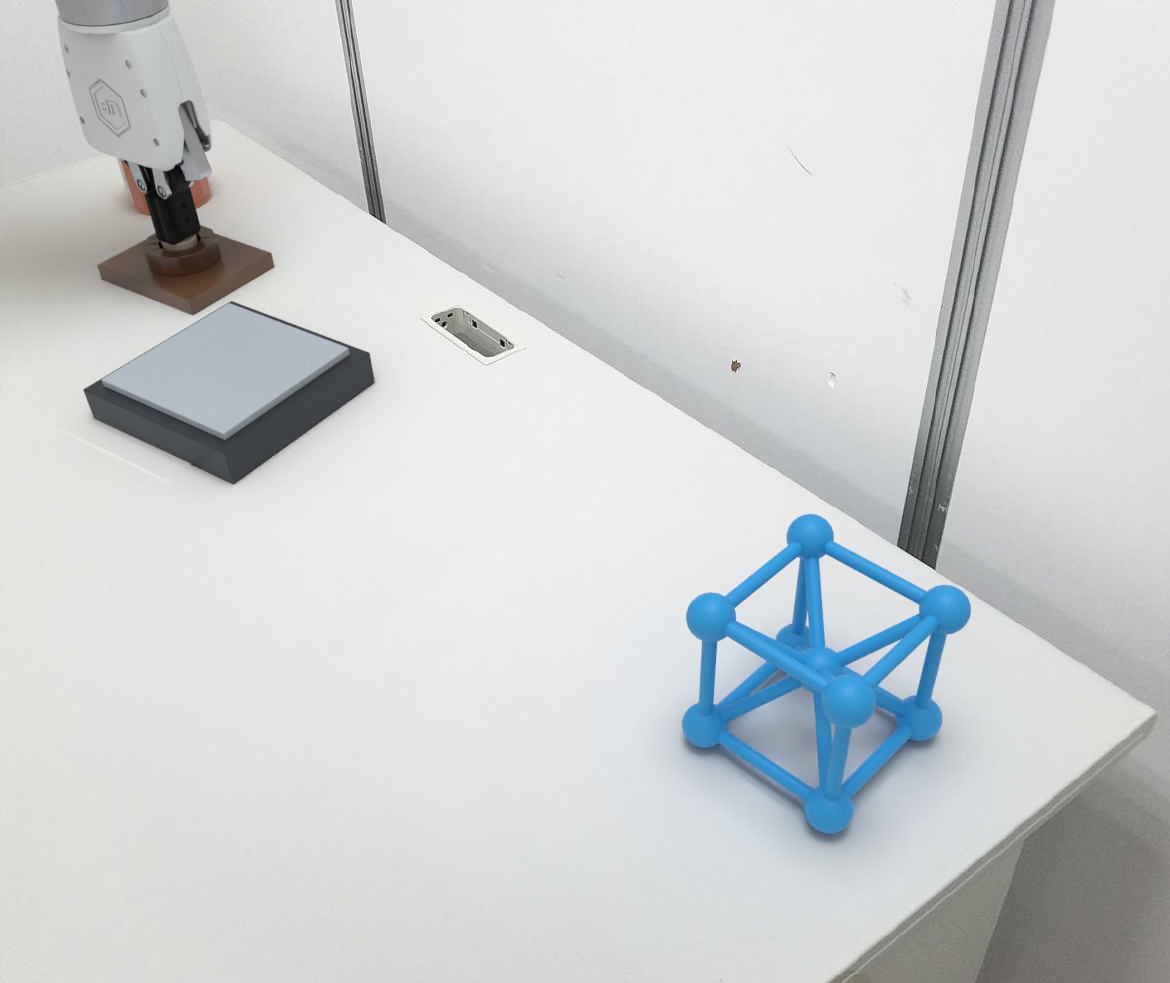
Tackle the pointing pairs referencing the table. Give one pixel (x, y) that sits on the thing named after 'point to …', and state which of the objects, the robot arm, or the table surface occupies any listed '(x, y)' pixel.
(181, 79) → the robot arm
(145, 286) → the panel
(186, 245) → the button
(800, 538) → the molecular structure
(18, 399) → the table surface
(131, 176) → the terracotta cup
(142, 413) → the scale
